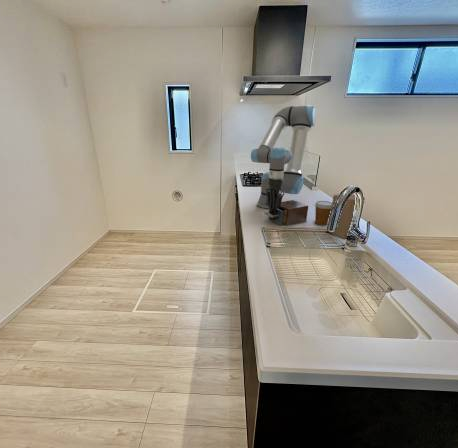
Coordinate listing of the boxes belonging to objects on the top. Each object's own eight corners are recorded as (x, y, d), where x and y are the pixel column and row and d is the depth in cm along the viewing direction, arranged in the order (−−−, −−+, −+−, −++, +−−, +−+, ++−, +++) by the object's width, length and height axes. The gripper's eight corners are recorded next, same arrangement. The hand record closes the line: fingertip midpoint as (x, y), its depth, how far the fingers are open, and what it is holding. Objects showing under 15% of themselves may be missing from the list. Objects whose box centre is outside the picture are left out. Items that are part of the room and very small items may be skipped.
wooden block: (356, 235, 121) (365, 197, 114) (343, 239, 117) (351, 199, 109) (339, 228, 129) (346, 192, 122) (326, 231, 125) (333, 194, 118)
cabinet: (286, 225, 133) (288, 209, 129) (272, 218, 143) (273, 203, 140) (306, 221, 139) (308, 205, 135) (291, 214, 149) (293, 200, 146)
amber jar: (327, 220, 140) (330, 200, 136) (332, 226, 132) (336, 205, 127) (310, 219, 141) (313, 200, 137) (314, 225, 133) (318, 205, 128)
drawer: (273, 226, 130) (274, 213, 127) (261, 219, 139) (262, 207, 136) (299, 220, 137) (301, 208, 134) (286, 214, 147) (287, 202, 144)
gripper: (262, 176, 130) (260, 217, 139) (278, 181, 119) (274, 224, 128) (273, 175, 133) (270, 215, 142) (289, 179, 122) (285, 222, 131)
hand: (272, 219), depth 135 cm, fingers closed
